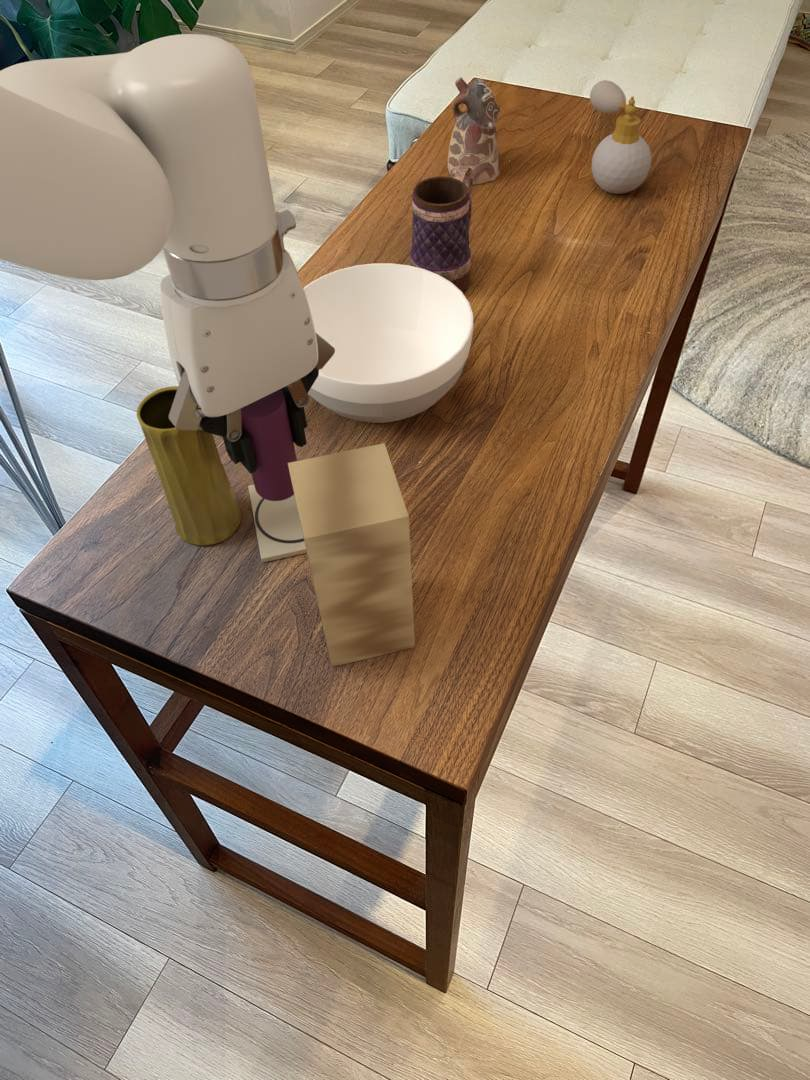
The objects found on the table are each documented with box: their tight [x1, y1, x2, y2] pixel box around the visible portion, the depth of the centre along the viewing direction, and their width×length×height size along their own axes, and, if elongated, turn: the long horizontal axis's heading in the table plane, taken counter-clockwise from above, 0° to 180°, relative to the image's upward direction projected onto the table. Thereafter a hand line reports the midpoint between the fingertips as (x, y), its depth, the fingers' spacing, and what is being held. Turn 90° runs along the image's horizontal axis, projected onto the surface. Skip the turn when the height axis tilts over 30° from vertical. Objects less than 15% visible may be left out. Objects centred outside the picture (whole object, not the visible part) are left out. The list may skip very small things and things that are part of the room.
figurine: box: [447, 77, 501, 186], centre depth 109 cm, size 7×7×12 cm
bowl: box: [303, 262, 475, 424], centre depth 84 cm, size 19×19×9 cm
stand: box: [288, 442, 416, 668], centre depth 63 cm, size 7×7×17 cm
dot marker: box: [241, 389, 298, 501], centre depth 69 cm, size 4×4×11 cm
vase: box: [136, 385, 242, 547], centre depth 72 cm, size 6×6×14 cm
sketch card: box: [247, 484, 307, 563], centre depth 77 cm, size 11×9×1 cm
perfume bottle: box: [589, 79, 652, 195], centre depth 106 cm, size 8×10×12 cm
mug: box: [409, 164, 474, 293], centre depth 95 cm, size 10×7×12 cm
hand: (269, 447), depth 69 cm, fingers closed on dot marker, 4 cm apart
